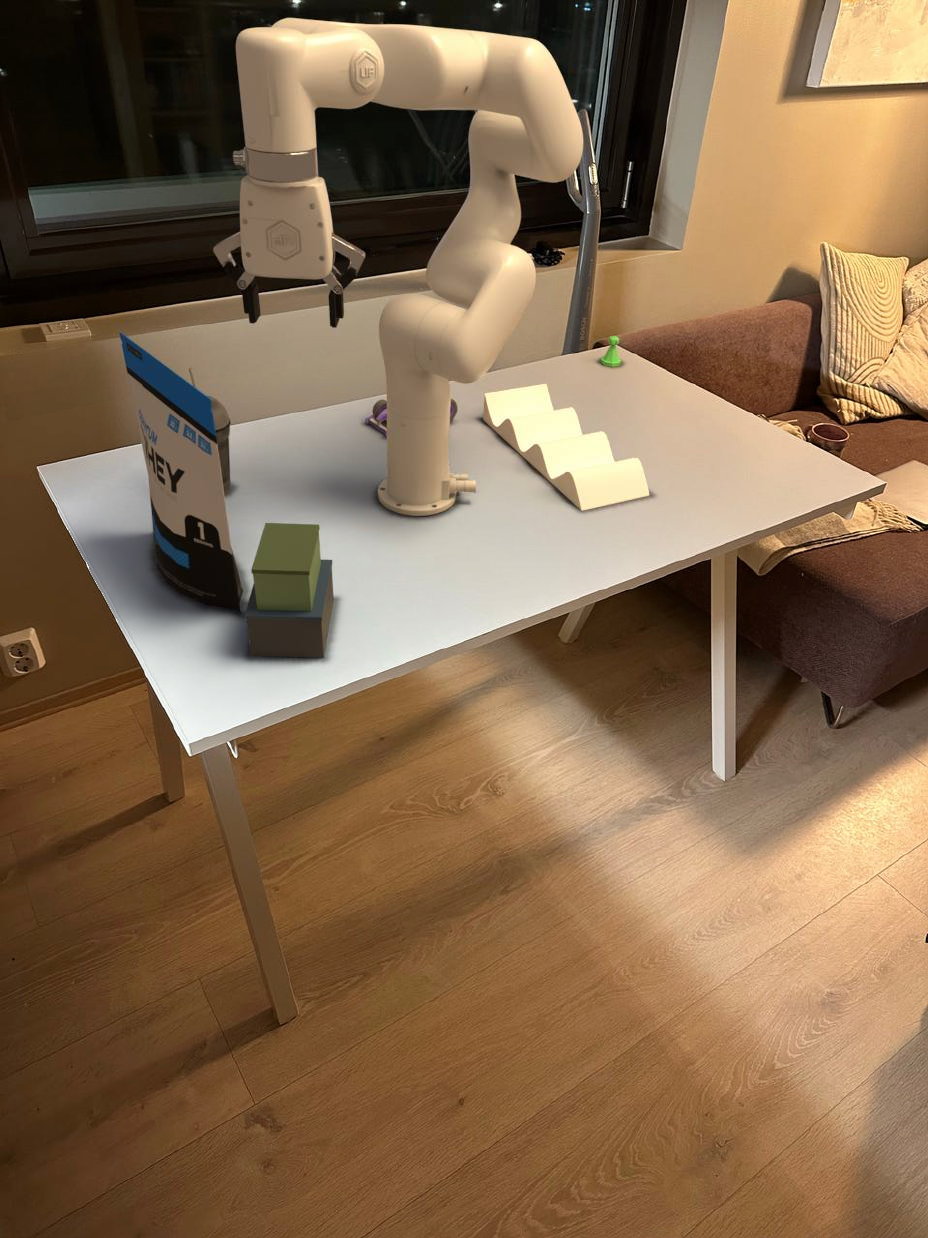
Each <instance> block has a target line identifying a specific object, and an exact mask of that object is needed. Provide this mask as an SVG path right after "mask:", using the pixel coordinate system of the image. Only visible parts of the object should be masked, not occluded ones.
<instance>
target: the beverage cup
mask: <svg viewBox="0 0 928 1238" xmlns="http://www.w3.org/2000/svg"><path fill="white" fill-rule="evenodd" d="M188 372H189V375H190V376H189V377H190V379H191V385H193V386H194V387H195V388H197V389H198V385H197V382H196V377H195V374H194V370H193V367H188ZM206 396H207V397H209V398H210V399H211V403H212V407H211V410H212V413H213V417H214V424H215V431H216V439H217V446H218V453H219V460H220V467H221V474H222V481H223V489H224V496H225V495H227V494H228V493H230V491H231V463H230V461H231V460H230V459H231V458H230V433H231V419H230V417H229V413H228V410H227V408H226V407H225V405H224V404H223V403H222V402H221V401H220V400H218V399H217V398H215V397H213V396H211V395H206Z"/></svg>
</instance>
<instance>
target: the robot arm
mask: <svg viewBox="0 0 928 1238" xmlns="http://www.w3.org/2000/svg"><path fill="white" fill-rule="evenodd" d="M235 56H236V66H237V76H238V87H239V94H240V95H239V96H240V106H241V114H242V116H241V117H242V124H243V133H244V134H243V135H244V145H245V146H244V147H243V149H240V150H234V151H233V152H232V159H233V164H234V165H236V166H241V167H243V168H244V170H245V171H246V175H245V176H244V177H242V178H241V179H240V189H239V228H240V229H239V232H236V233H234V234H233V235H231V236H229V237H227V238H224V239H223V240H221V241H219V242H217V243H216V244H215V245H214V246H213V248H212V251H213V254H214V256H215V257H216V258H217V260H218V261H219V263H220V265H222V268H223V271H224V272H225V273H226V275H228V276H229V277H230V278H231V279H232V280H233V281H234V282H235V283H236V285H237V287H238V288H239V289H240V290H241V297H242V304H243V306H242V307H243V312H244V314H247V315H248V322H249V324H256V323H257V321H258V320H259V318H260V316H261V303H260V294H259V285H258V283H257V281H255V277H261V278H276V279H277V278H279V279H294V280H295V279H298V280H321V279H322V281H324V282H325V284H326V285H327V286H328V287H329V288H330V290H329V292H328V311H329V313H328V314H329V315H328V316H329V327H331V328H332V329H333V328H335V329H336V328H337V327H338V325H339V322H340V319H344V316H345V303H344V302H345V300H344V291H345V290H346V288H347V287H348V286H349V285H350V284H351V283H352V282H353V281H354V280H355V279H356V277H357V275H358V273H359V271H360V269H361V267H362V265H363V263H364V261H365V258H366V252H365V251H364V250H362V249H361V248H360V247H357V246H355V245H354V244H352V243H350V242H348V241H347V240H345V239H343V238H342V237H340V236H339V235H336V234H335V233H334V227H333V218H332V212H331V205H330V200H329V194H328V190H327V185H326V181H325V179H324V178H323V177H322V176H319V165H318V152H317V151H318V150H317V148H318V147H317V129H316V113H315V111H316V110H317V109H318V108H328V109H330V108H331V109H342V110H352V109H358V108H361V107H363V106H365V105H366V104H368V103H370V102H371V103H376V104H380V105H383V106H387V107H391V108H396V109H397V108H398V109H405V110H413V111H441V110H442V111H450V110H451V111H476V112H475V113H474V115H473V117H472V120H471V122H470V125H469V130H468V141H467V142H468V153H469V167H470V168H469V169H470V173H469V176H470V180H469V187H468V194H467V195H466V198H465V200H464V202H463V204H462V206H461V208H460V209H459V211H458V213H457V215H456V216H455V217H454V219H453V221H452V222H451V224H450V226H449V227H448V229H447V230H446V232H445V233H444V235H443V236H442V238H441V240H440V241H439V242H438V244H437V246H436V247H435V249H434V250H433V253H432V255H431V257H430V258H429V260H428V262H427V265H426V269H425V279H426V283H427V285H428V288H430V290H431V291H432V292H433V293H434V294H435V295H437V296H438V297H440V298H442V299H444V300H446V301H444V300H441V299H438V298H434V297H432V296H429V295H426V294H421V293H413V292H407V293H401V294H399V295H396V296H394V297H393V298H391V299H390V300H389V301H388V302H387V303H386V305H385V306H384V307H383V310H382V312H381V314H380V318H379V321H378V337H379V338H378V339H379V345H380V350H381V354H382V359H383V364H384V370H385V382H386V383H385V385H386V401H387V422H386V428H387V437H386V471H387V472H386V478H384V479H383V480H381V482H380V483H379V484H378V487H377V499H378V500H379V502H380V504H381V505H382V506H383V507H384V508H386V509H388V510H390V511H392V512H394V513H398V514H400V515H404V516H405V515H406V516H413V517H425V516H433V515H436V514H439V513H443V512H445V511H447V510H448V509H450V508H451V507H452V506H453V505H454V504H455V503H456V501H457V492H458V493H459V492H464V493H473V494H474V493H476V491H477V480H475V479H469V474H468V473H454V472H453V471H451V464H450V463H449V449H450V425H451V421H450V406H451V399H452V394H451V385H450V381H453V382H456V383H459V384H464V385H466V384H472V383H475V382H478V381H479V380H480V379H482V378H483V377H484V376H485V375H486V374H487V373H488V371H489V370H490V368H491V367H492V366H493V364H494V362H495V361H496V360H497V358H498V357H499V355H500V354H501V352H502V350H503V348H504V347H505V346H506V344H507V342H508V341H509V339H510V337H511V336H512V334H513V333H514V331H515V330H516V328H517V326H518V325H519V323H520V322H521V320H522V319H523V317H524V315H525V314H526V311H527V310H528V308H529V305H530V303H531V301H532V298H533V295H534V292H535V287H536V283H537V282H536V281H537V272H536V271H537V269H536V265H535V263H534V261H533V259H532V257H531V256H530V255H529V254H528V253H527V251H526V250H524V249H522V248H520V247H519V246H516V245H514V244H512V242H513V240H514V238H515V236H516V235H517V233H518V231H519V228H520V225H521V220H522V210H521V209H522V207H521V202H520V198H519V193H518V188H517V183H516V177H515V175H516V176H518V177H519V176H520V177H524V178H529V179H532V180H537V181H541V182H545V183H559V182H564V181H565V180H567V179H569V178H570V177H571V176H572V175H573V174H574V173H575V172H576V170H577V169H578V167H579V165H580V163H581V160H582V157H583V151H584V132H583V127H582V124H581V121H580V117H579V115H578V112H577V109H576V107H575V105H574V102H573V99H572V98H571V95H570V91H569V89H568V87H567V85H566V82H565V80H564V77H563V75H562V73H561V71H560V68H559V67H558V65H557V63H556V61H555V59H554V57H553V56H552V54H551V53H550V51H549V50H548V49H547V47H546V46H545V45H544V44H543V43H541V42H540V41H539V40H537V39H534V38H530V37H523V36H516V35H510V34H509V35H508V34H502V33H495V32H486V31H479V30H469V29H457V28H448V27H437V26H436V27H435V26H427V25H417V24H416V25H415V24H393V23H391V24H390V23H386V24H368V23H367V24H366V23H352V22H341V21H340V22H339V21H328V20H316V19H307V18H296V17H286V18H283V19H280V20H278V21H276V22H275V23H273V25H272V26H268V27H267V26H263V27H262V26H260V27H259V26H258V27H250V28H246V29H243V30H242V31H240V32H239V33H238V35H237V37H236V40H235ZM238 248H240V251H241V253H240V254H241V260H242V261H241V262H242V266H243V267H242V266H241V265H240V264H239V263H238V262H237V260H235V259H234V258H233V255H232V253H231V252H232V251H234V250H236V249H238ZM336 252H337V253H339V255H342V256H344V257H346V258H347V259H348V260H349V265H348V266H347V268H346V269H345V270H344V271H343V272H342V273H341V272H340V271H339V269H337V267H336V266H335V265H334V264H335V261H336ZM447 301H448V302H447ZM450 302H451V303H450ZM452 303H453V304H452ZM454 304H456V305H454ZM457 305H458V306H457ZM460 306H462V307H460ZM463 307H465V308H463Z"/></svg>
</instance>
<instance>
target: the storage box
mask: <svg viewBox="0 0 928 1238" xmlns="http://www.w3.org/2000/svg"><path fill="white" fill-rule="evenodd" d="M249 595H250V596H249V598H248V602H247V605H246V609H245V612H244V616H243V617H244V619H245V622H246V629H247V636H248V637H247V638H248V644H249V650H250V651H249V652H250V656H251V657H282V658H319V659H321V658H322V659H324V658H325V653H326V648H327V647H326V646H327V641H328V637H329V630H330V624H331V617H332V611H333V605H334V599H335V598H334V581H333V559H321V566H320V571H319V576H318V581H317V586H316V591H315V596H314V601H313V607H312V611H286V610H257V603H256V595H255V587H254V584H253V585H252V588H251V591H250V594H249Z"/></svg>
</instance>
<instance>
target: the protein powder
mask: <svg viewBox="0 0 928 1238" xmlns="http://www.w3.org/2000/svg"><path fill="white" fill-rule="evenodd" d="M118 334H119V339H120V341H121V348H122V355H123V358H124V363H125V364H124V365H125V368H126V373H127V379H128V384H129V388H130V393H131V394H130V395H131V399H132V404H133V408H134V413H135V418H136V423H137V427H138V433H139V437H140V443H141V447H142V451H143V457H144V462H145V466H146V471H147V478H148V487H149V500H150V511H151V513H150V514H151V523H152V525H151V526H152V535H153V536H152V537H153V547H154V556H155V564H156V570H157V572H158V573H159V575H160V576H161V578H162V580H163V581H164V583H165V584H166V585H167V586H169V587H170V588H171V589H173V590H174V591H176V592H177V593H178V594H179V595H181V596H183V597H186V598H188V599H191V600H193V601H195V602H198V603H200V604H203V605H205V606H207V607H212V608H213V607H214V608H219V609H225V610H226V609H227V610H231V611H237V612H238V613H239V614H240V615H242V610H241V604H240V603H241V600H242V597H243V593H244V590H243V585H242V582H241V578H240V574H239V569H238V566H237V562H236V558H235V554H234V551H233V548H232V543H231V535H230V528H229V527H230V526H229V520H228V513H227V504H226V498H225V495H224V489H223V481H222V474H221V467H220V460H219V453H218V446H217V439H216V431H215V424H214V417H213V413H212V410H211V407H212V403H211V399H210V398H209V397H207V396H208V395H206V394H205V393H203V392H202V391H201V390H200V389H198V387H197V388H195V387H194V386H193V384H192V383H190V382H189V381H187V380H186V379H184V378H183V377H182V376H180V375H179V374H178V373H177V372H175V371H173V370H172V368H170V367H168V366H167V365H166V364H165V363H163V362H162V361H161V360H159V359H158V358H157V357H155V356H153V354H151V353H149V352H148V351H147V350H146V349H144V348H143V347H141V346H140V345H139V344H137V343H136V342H135V341H133V339H131V338H129V337H128V336H126V335H125V334H124V333H123V332H121V331H119V332H118Z"/></svg>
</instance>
